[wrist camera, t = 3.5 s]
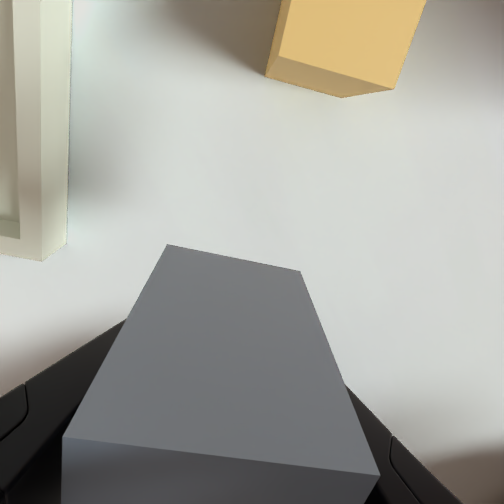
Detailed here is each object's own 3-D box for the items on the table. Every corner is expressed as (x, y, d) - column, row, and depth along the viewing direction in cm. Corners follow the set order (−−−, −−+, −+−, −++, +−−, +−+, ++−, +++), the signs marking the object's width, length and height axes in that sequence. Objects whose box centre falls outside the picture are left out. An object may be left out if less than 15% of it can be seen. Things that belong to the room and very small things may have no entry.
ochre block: (341, 97, 16) (394, 89, 11) (264, 76, 16) (278, 55, 10) (370, 4, 15) (449, -63, 9) (286, -23, 14) (317, -111, 9)
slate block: (266, 371, 11) (294, 618, 6) (150, 353, 11) (59, 604, 5) (299, 271, 10) (380, 475, 4) (167, 244, 9) (61, 437, 4)
